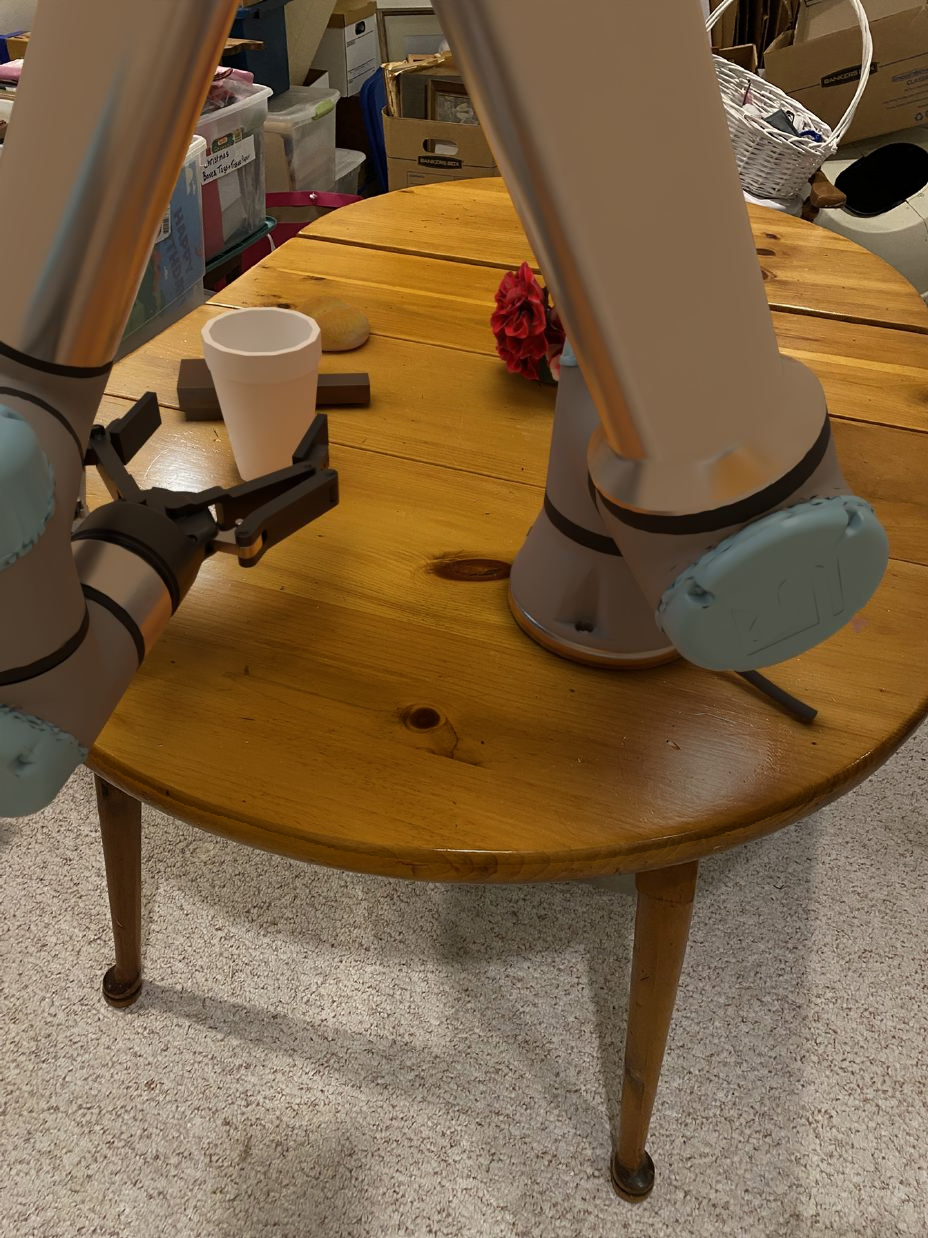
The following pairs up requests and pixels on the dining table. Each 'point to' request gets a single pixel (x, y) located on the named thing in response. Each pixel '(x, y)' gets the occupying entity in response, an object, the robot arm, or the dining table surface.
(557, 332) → the carnation
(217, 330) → the foam cup
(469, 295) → the dining table surface
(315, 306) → the bread roll
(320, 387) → the brush
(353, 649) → the dining table surface
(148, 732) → the dining table surface
